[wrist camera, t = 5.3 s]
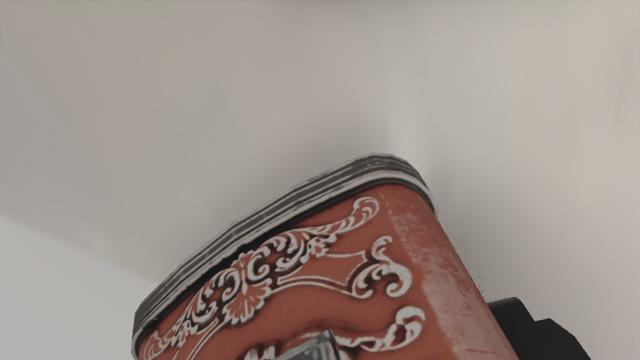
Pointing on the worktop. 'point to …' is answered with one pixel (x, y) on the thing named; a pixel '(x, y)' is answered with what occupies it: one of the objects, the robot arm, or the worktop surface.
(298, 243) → the lighter
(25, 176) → the worktop surface
